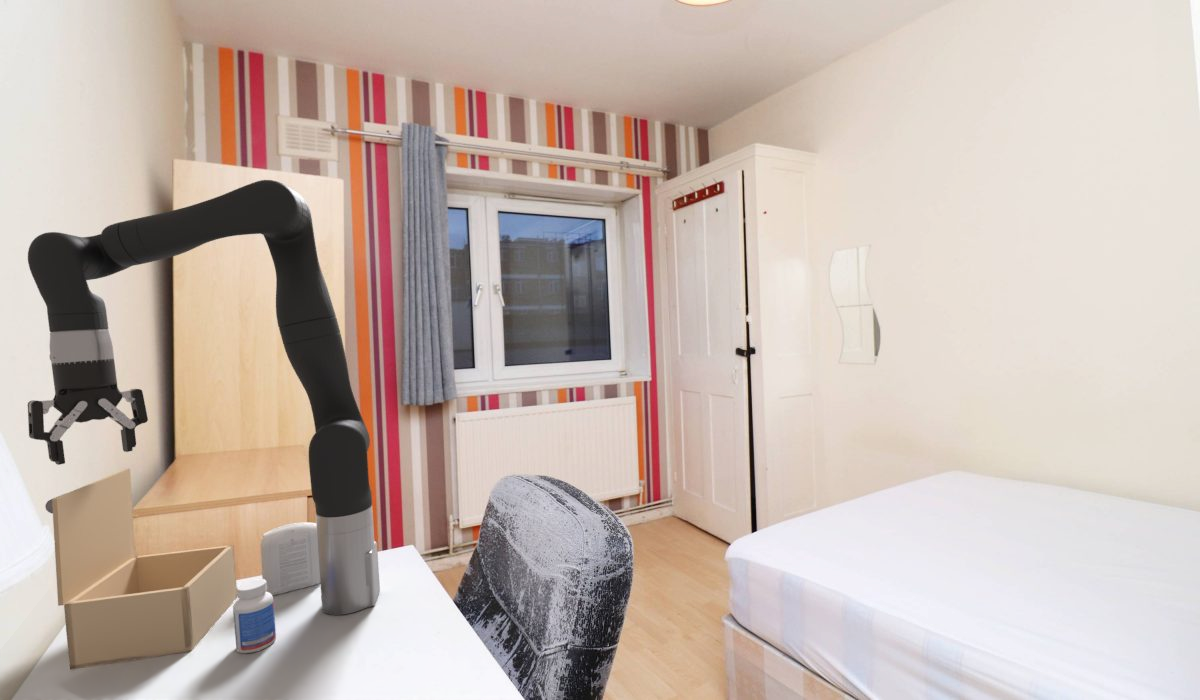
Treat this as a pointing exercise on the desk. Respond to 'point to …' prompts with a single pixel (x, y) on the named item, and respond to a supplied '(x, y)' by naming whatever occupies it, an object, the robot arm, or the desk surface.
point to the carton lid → (92, 533)
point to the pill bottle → (254, 617)
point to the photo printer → (290, 557)
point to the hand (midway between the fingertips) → (95, 457)
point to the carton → (150, 606)
